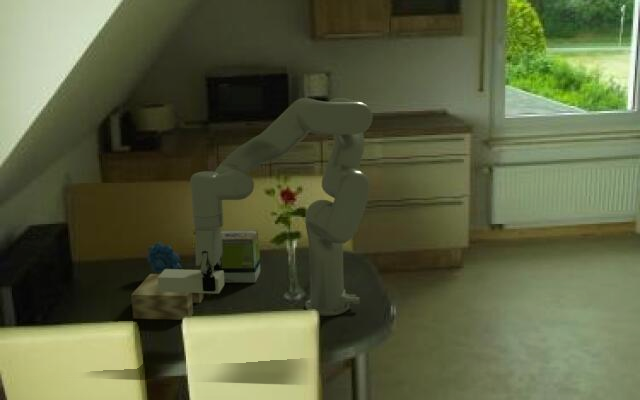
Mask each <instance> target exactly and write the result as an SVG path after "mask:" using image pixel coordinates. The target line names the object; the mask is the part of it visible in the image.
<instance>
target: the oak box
mask: <svg viewBox="0 0 640 400" xmlns="http://www.w3.org/2000/svg"><path fill="white" fill-rule="evenodd" d="M159 275H160V273H150V274H149V275H148V276H147V277H146V278H145V279H144V280H143V281H142V282H141V284H139V285H138V287H137V288H135V290H134V291H133V292H132V293H131V297H130V298H131V307H132V317H133V319H136V320H137V319H141V320H142V319H144V320H181V319H182V318H183V317H185V316H191V317H192V315H193V314H194V304H200V303H201V302H202V301H203V299H204V298H205V293H185V292H159V289H158V276H159Z"/></svg>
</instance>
